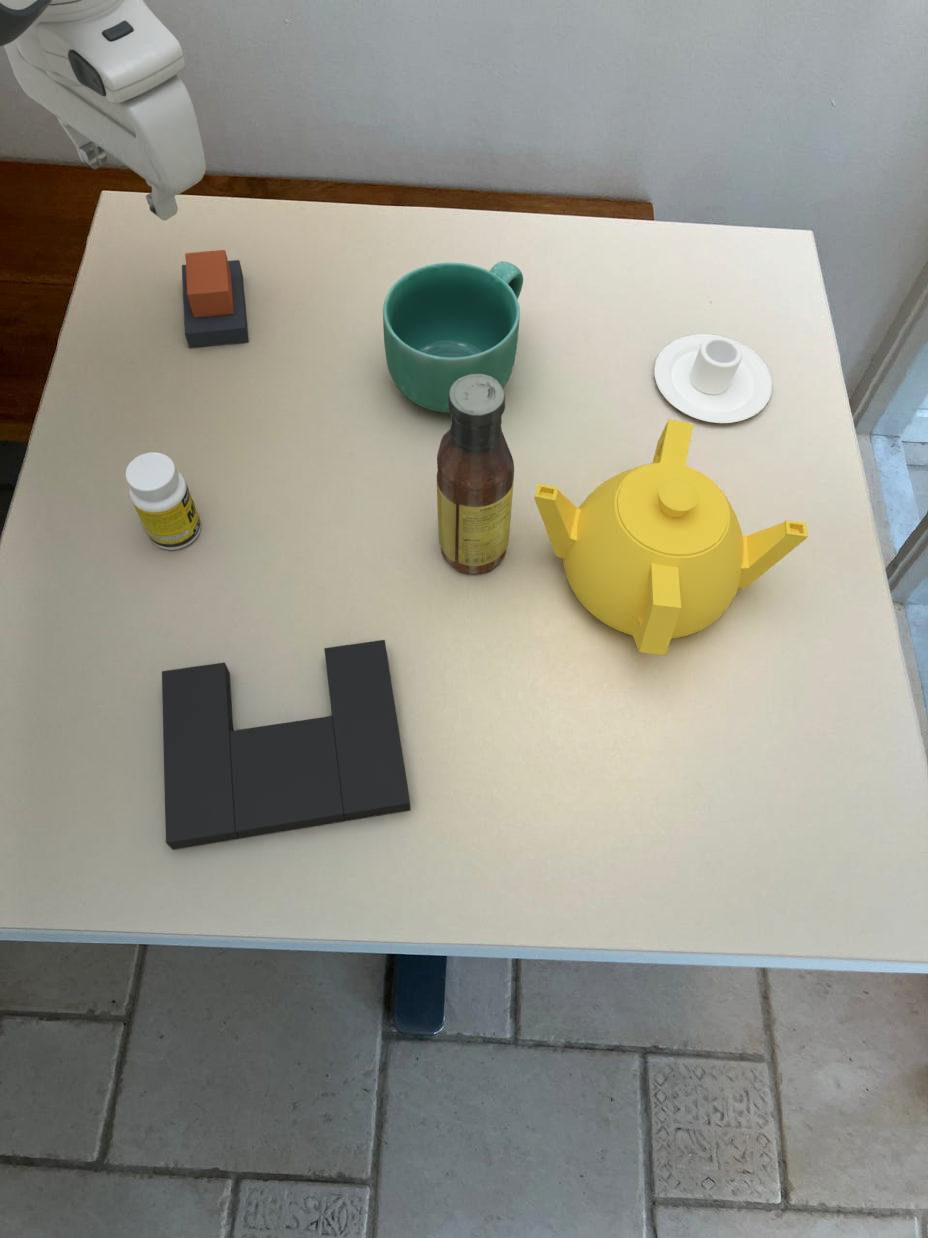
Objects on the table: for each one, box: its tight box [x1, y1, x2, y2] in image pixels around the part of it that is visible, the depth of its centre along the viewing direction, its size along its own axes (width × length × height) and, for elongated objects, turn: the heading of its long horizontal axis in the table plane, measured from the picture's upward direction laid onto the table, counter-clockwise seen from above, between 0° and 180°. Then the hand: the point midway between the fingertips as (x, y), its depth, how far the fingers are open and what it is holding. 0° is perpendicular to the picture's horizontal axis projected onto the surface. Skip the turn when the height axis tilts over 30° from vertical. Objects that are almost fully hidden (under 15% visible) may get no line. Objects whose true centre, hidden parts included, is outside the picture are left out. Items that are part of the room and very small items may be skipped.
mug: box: [382, 260, 524, 414], centre depth 86 cm, size 17×13×10 cm
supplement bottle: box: [125, 451, 202, 551], centre depth 76 cm, size 5×5×8 cm
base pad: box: [161, 639, 411, 850], centre depth 70 cm, size 18×14×2 cm
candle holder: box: [653, 333, 773, 424], centre depth 89 cm, size 12×12×4 cm
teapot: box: [534, 418, 809, 656], centre depth 74 cm, size 17×17×12 cm
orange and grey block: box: [181, 249, 250, 349], centre depth 90 cm, size 6×10×5 cm, turn 10°
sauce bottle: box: [436, 374, 515, 575], centre depth 71 cm, size 7×6×20 cm
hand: (129, 187), depth 76 cm, fingers open, 8 cm apart
